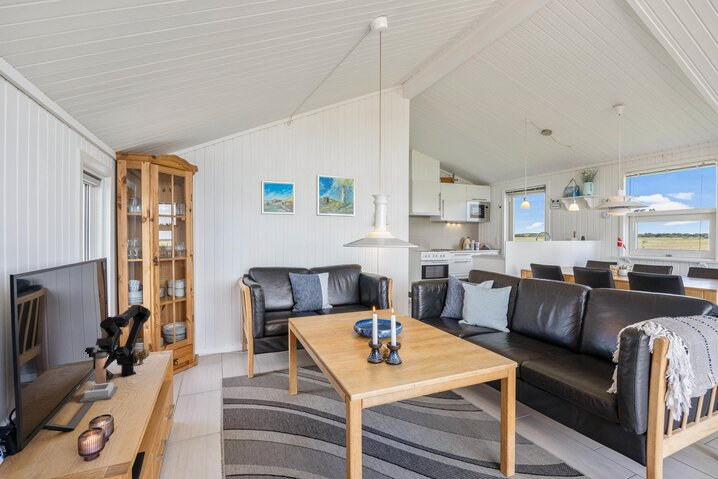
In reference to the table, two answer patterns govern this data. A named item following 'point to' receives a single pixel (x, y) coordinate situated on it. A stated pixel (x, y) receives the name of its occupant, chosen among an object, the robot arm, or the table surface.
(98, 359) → the peg
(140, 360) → the lion figurine
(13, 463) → the table surface
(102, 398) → the socket block
